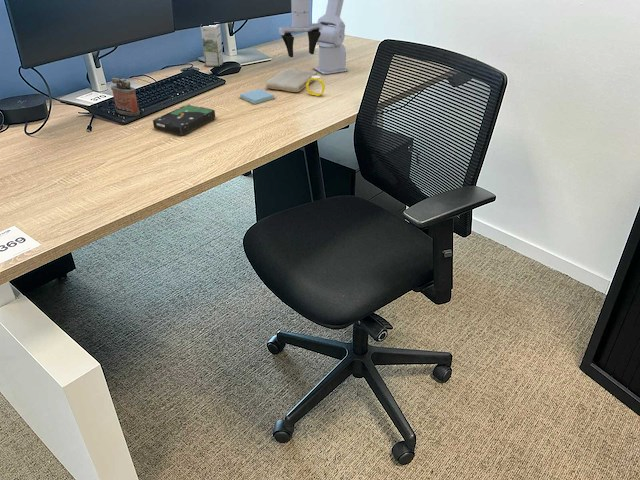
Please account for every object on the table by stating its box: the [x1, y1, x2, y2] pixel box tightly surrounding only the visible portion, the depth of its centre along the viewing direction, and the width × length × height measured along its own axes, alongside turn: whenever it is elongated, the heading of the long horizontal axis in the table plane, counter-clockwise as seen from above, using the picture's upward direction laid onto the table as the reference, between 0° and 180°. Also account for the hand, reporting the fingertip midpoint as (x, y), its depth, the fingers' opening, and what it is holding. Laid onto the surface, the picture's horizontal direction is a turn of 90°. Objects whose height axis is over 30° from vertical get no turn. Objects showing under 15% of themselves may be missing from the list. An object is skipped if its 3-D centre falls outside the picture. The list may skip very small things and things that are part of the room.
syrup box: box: [200, 23, 224, 68], centre depth 194 cm, size 6×6×14 cm
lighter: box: [110, 77, 141, 117], centre depth 155 cm, size 8×3×10 cm, turn 65°
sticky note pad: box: [239, 88, 275, 105], centre depth 168 cm, size 8×8×1 cm
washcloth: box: [265, 67, 318, 93], centre depth 180 cm, size 12×18×3 cm, turn 160°
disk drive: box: [152, 104, 216, 136], centre depth 150 cm, size 10×3×15 cm
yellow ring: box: [305, 75, 326, 97], centre depth 170 cm, size 6×3×6 cm, turn 67°
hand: (301, 55), depth 176 cm, fingers open, 7 cm apart
